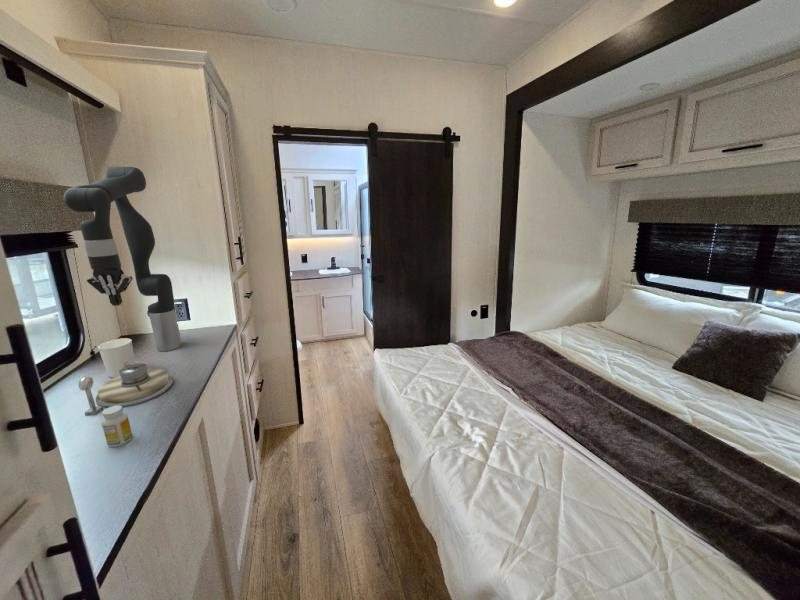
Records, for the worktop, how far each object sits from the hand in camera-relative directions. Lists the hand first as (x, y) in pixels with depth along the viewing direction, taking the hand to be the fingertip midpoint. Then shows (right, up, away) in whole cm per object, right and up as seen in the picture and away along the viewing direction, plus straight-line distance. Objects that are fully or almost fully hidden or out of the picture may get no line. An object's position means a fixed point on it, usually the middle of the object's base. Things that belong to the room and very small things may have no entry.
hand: (117, 304), depth 114 cm
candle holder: (-11, -26, +16) cm, 32 cm away
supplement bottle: (+19, -36, -22) cm, 47 cm away
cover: (+5, -26, +2) cm, 27 cm away
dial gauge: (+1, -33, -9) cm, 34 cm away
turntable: (+4, -28, +2) cm, 29 cm away
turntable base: (+5, -29, +3) cm, 30 cm away
